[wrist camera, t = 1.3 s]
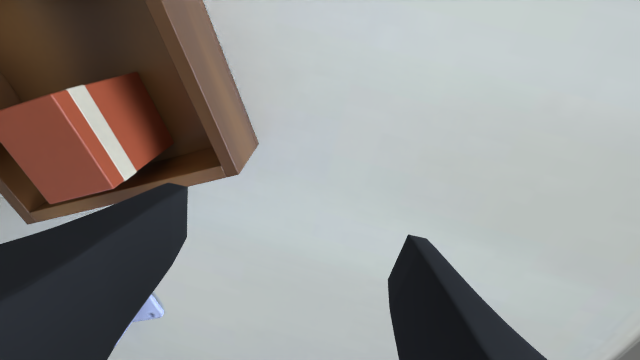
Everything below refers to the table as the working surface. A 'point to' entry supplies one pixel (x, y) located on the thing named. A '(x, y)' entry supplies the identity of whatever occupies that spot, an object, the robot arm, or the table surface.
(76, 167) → the rust packet
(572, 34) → the table surface
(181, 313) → the table surface
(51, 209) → the tray
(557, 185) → the table surface
